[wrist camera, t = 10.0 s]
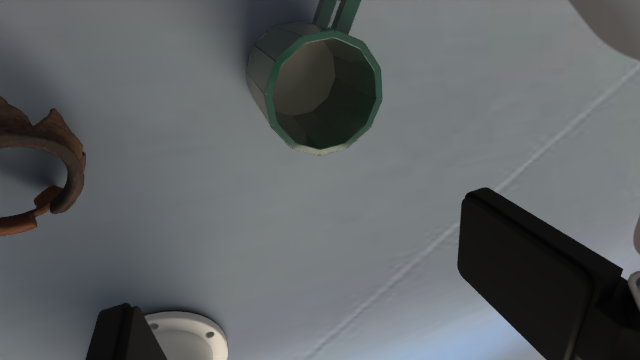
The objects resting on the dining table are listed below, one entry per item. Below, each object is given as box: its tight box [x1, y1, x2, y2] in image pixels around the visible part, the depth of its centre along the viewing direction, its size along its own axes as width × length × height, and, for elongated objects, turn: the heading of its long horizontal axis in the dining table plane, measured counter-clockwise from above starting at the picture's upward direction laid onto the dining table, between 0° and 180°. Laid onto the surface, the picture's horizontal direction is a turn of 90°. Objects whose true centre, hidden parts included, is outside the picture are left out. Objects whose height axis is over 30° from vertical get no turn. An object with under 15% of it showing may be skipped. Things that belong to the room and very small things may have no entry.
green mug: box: [246, 0, 382, 155], centre depth 24 cm, size 10×7×8 cm
